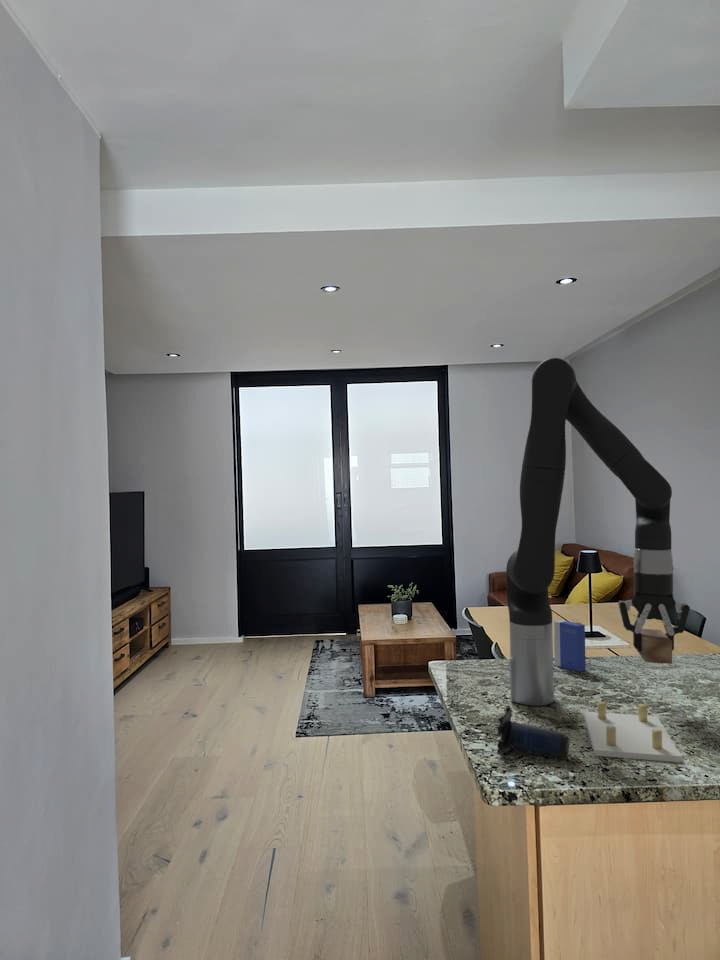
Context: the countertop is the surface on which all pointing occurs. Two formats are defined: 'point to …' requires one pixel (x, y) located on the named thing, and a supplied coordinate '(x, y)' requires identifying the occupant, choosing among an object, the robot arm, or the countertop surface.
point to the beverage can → (531, 738)
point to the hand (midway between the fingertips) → (653, 651)
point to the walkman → (569, 645)
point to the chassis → (629, 735)
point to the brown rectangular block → (655, 646)
